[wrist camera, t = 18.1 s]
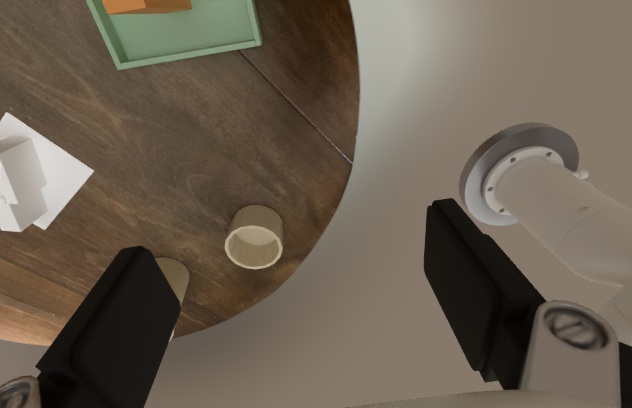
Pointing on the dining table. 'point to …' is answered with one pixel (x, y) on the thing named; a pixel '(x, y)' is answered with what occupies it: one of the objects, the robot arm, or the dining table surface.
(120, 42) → the tray
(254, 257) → the cup
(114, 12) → the orange rectangular bar
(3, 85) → the dining table surface
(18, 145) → the napkin holder
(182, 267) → the coffee cup
